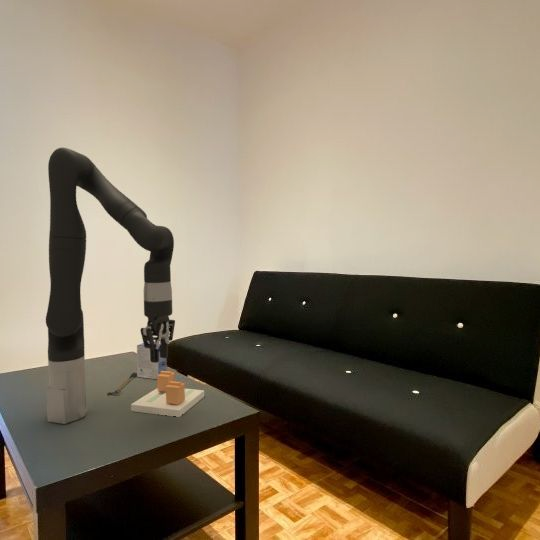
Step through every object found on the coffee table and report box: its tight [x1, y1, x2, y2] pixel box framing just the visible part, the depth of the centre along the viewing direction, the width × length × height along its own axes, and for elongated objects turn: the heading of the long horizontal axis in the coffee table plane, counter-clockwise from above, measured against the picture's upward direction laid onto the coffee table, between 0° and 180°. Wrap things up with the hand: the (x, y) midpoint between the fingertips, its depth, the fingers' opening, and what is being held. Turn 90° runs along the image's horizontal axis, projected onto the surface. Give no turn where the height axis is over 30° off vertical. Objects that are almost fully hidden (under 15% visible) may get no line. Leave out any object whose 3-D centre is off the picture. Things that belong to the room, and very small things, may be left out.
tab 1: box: [156, 371, 176, 392], centre depth 127 cm, size 4×4×6 cm
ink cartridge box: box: [136, 341, 168, 380], centre depth 147 cm, size 10×6×14 cm, turn 71°
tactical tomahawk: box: [106, 372, 137, 397], centre depth 139 cm, size 21×7×1 cm, turn 177°
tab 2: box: [166, 381, 186, 404], centre depth 117 cm, size 4×4×6 cm
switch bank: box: [130, 387, 205, 418], centre depth 121 cm, size 16×16×2 cm
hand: (159, 359), depth 109 cm, fingers open, 4 cm apart
